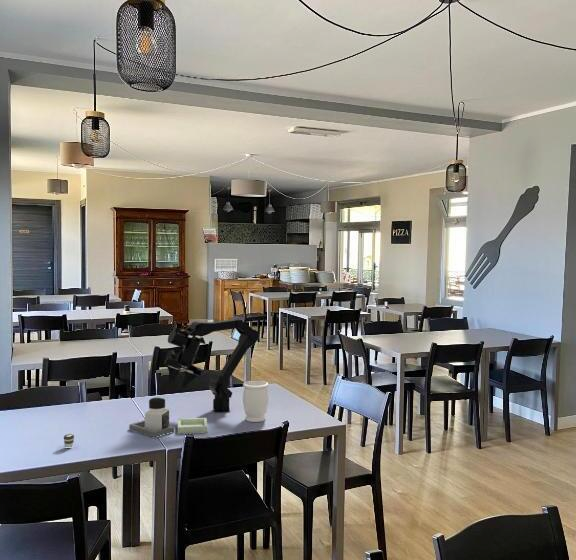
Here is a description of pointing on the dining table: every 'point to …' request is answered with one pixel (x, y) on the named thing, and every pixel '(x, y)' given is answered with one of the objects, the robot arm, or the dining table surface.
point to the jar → (255, 400)
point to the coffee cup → (69, 440)
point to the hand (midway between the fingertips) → (176, 386)
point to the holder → (139, 428)
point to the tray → (192, 425)
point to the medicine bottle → (157, 415)
